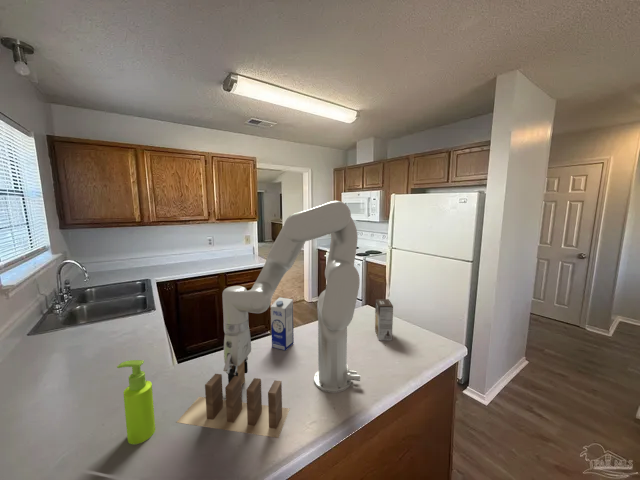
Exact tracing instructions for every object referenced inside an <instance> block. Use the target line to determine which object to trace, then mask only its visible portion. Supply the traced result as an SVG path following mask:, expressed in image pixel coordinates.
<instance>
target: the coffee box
mask: <svg viewBox="0 0 640 480" xmlns="http://www.w3.org/2000/svg"><path fill="white" fill-rule="evenodd" d="M374 310H375V311H374V313H375V315H374V332H375V334H377V335H376V337H377V339H378V341H393V323H394V321H393V317H394V305H393V304H392V302H391V300H390V299H389V298H388V299H387V298H383V299H382V298H380V299H375V309H374Z"/></svg>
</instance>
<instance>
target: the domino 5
mask: <svg viewBox="0 0 640 480" xmlns="http://www.w3.org/2000/svg"><path fill="white" fill-rule="evenodd" d="M282 385H283V383H282V380H273V383H272V384H271V387H270V388H269V389H268V392H267V402H268V405H267V406H268V411H269V428H274V429H276V428H277V426H278V423H279V421H280V419H281V416H282V408H283V394H282V391H283V390H282V388H283V387H282Z"/></svg>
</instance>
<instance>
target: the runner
mask: <svg viewBox="0 0 640 480" xmlns="http://www.w3.org/2000/svg"><path fill="white" fill-rule="evenodd" d="M290 409H291V408H289V407H288V408H287V407H282V416H281V419H280V421H279V423H278V426H277V428H276V429H274V428H269V411H268V405H266V404H262V413H261V415H260V416H259V418H258V420H257V422H256V424H255V426H253V425H248V421H247V402H243V401H242V410H241V412H240V414H239V415H238V417H237V418H236V420H235V422H234V423H232V422H227V413H226V399H223V407H222V409H221V410H220V412H219V413H218V414H217V416H216V417H215V418H214V420H212V419H207V413H206V396H205V397H204V396H198V397H197V399H195V401H194V402H193V403H192V404H191V405H190V406H189V407H188V408H187V410H185V412H184V413H183V414H182V415H181V416H180V417H179V418H178V420H177V421H176V423H178V424H184V425H190V426H198V427H205V428H209V429H210V428H211V429H219V430H223V431H229V432H238V433H243V434H250V435H251V434H252V435H256V436H264V437H270V438H277V439H279V438H280V435H281V432H282V430H283V427H284V425H285V423H286V419H287V417H288V415H289V413H290Z"/></svg>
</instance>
